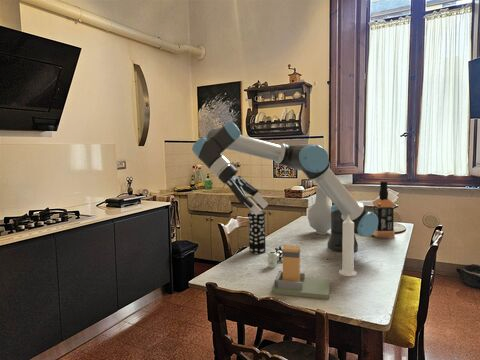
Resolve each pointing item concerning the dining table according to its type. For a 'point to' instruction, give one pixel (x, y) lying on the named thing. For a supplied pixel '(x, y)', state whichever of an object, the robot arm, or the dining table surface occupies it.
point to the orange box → (291, 263)
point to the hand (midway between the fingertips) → (263, 209)
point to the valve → (274, 257)
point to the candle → (348, 249)
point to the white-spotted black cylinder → (257, 233)
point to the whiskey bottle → (384, 214)
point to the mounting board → (302, 286)
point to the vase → (320, 213)
